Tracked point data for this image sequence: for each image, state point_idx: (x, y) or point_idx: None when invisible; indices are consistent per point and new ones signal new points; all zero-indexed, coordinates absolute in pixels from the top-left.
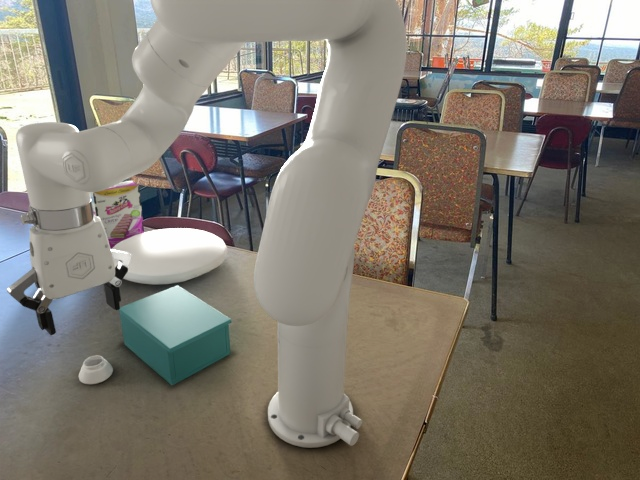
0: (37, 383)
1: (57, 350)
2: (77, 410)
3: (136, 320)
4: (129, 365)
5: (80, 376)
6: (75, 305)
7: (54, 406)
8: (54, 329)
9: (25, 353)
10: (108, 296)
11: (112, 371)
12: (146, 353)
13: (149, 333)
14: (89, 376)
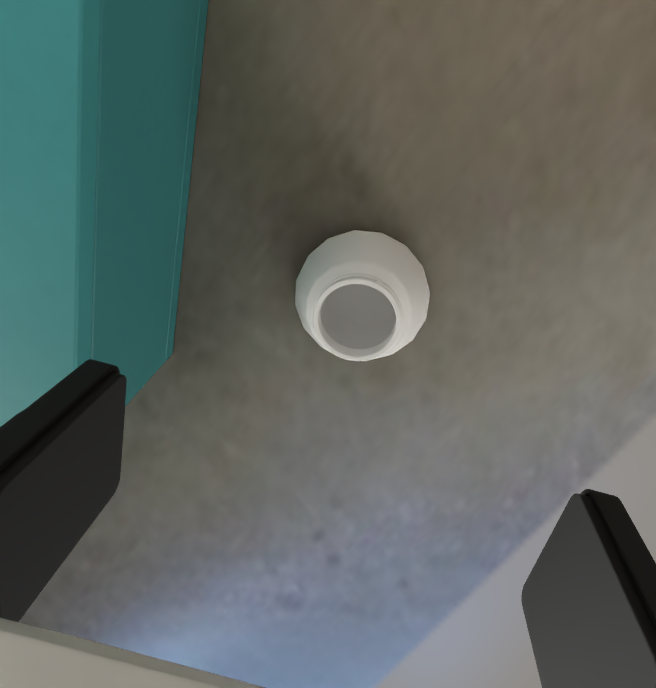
0: (499, 438)
1: (339, 519)
2: (553, 181)
3: (68, 284)
4: (242, 230)
5: (421, 320)
6: (152, 644)
7: (571, 283)
8: (594, 515)
9: (406, 583)
10: (74, 503)
11: (316, 248)
12: (166, 165)
13: (85, 93)
14: (413, 278)
